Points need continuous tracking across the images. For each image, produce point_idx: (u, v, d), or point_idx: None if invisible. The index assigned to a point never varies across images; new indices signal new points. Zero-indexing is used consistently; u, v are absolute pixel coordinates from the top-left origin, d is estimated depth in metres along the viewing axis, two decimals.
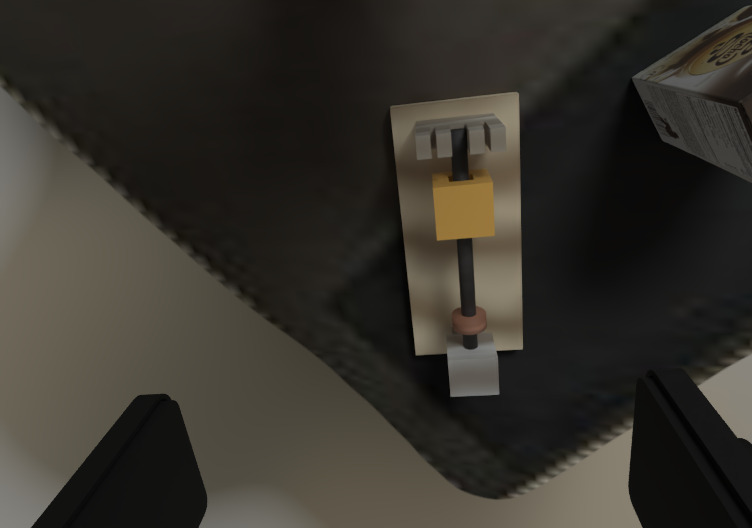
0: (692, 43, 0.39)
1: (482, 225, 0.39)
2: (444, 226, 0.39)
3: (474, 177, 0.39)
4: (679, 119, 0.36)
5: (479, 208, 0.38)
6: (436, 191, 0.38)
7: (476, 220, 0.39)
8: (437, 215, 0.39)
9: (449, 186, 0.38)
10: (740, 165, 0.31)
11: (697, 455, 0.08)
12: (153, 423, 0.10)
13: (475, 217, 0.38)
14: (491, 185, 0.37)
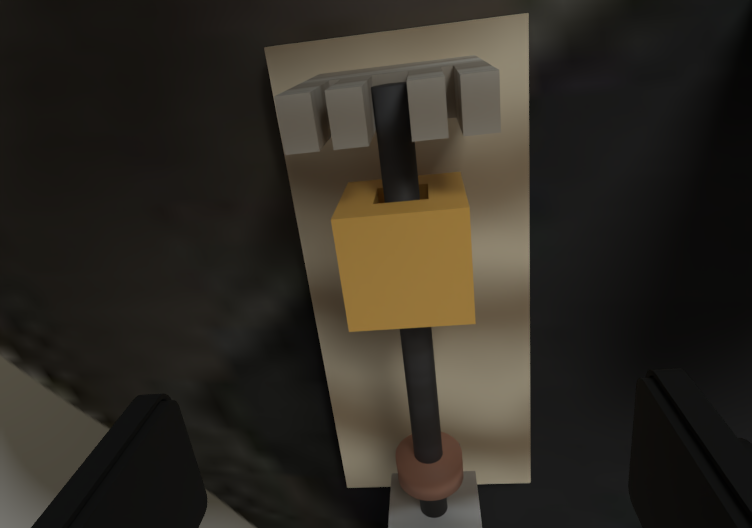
0: None
1: (447, 302, 0.17)
2: (363, 303, 0.17)
3: (430, 193, 0.18)
4: None
5: (440, 266, 0.17)
6: (339, 227, 0.16)
7: (433, 291, 0.17)
8: (346, 279, 0.17)
9: (369, 216, 0.16)
10: None
11: (697, 455, 0.08)
12: (153, 423, 0.10)
13: (431, 285, 0.17)
14: (466, 214, 0.16)
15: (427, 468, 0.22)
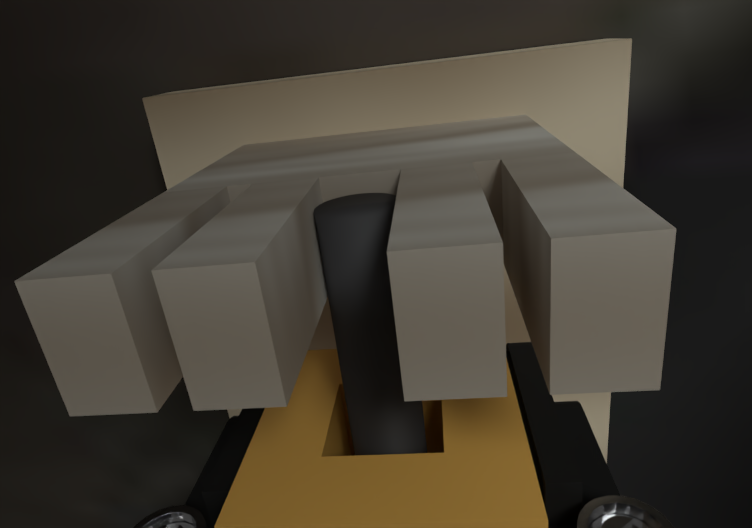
0: None
1: None
2: None
3: (448, 423, 0.08)
4: None
5: None
6: None
7: None
8: None
9: (304, 521, 0.07)
10: None
11: None
12: None
13: None
14: None
15: None
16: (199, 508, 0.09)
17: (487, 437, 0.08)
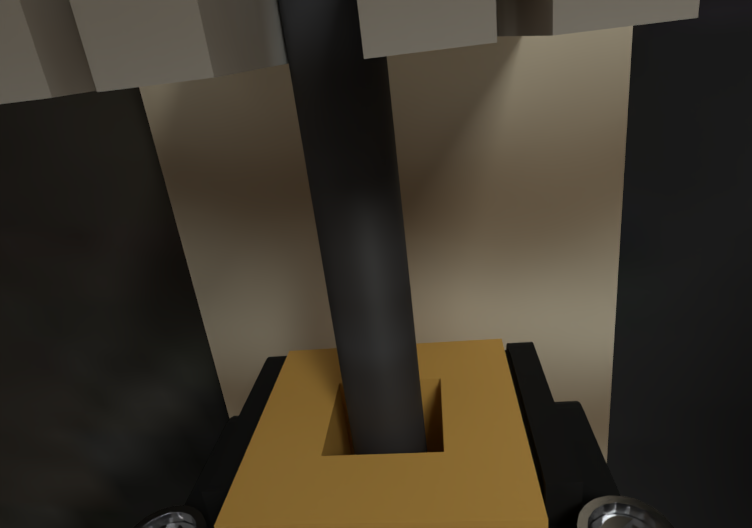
0: None
1: None
2: None
3: (447, 422, 0.08)
4: None
5: None
6: None
7: None
8: None
9: (304, 521, 0.07)
10: None
11: None
12: None
13: None
14: None
15: None
16: (199, 508, 0.09)
17: (487, 437, 0.08)
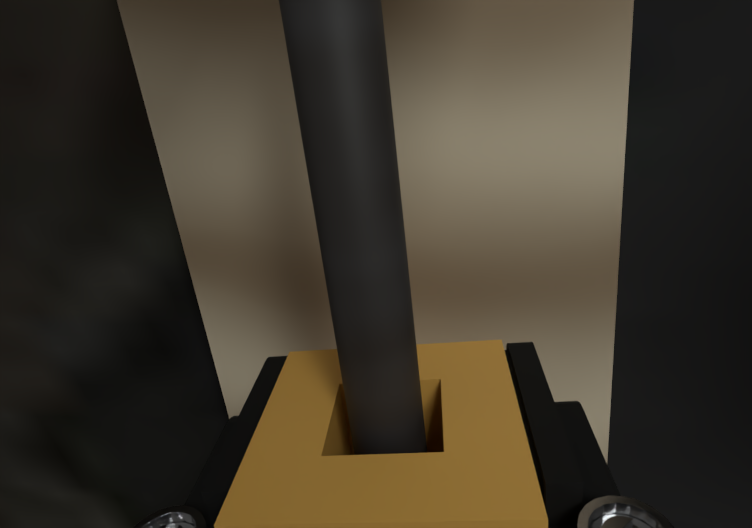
0: None
1: None
2: None
3: (447, 422, 0.08)
4: None
5: None
6: None
7: None
8: None
9: (304, 520, 0.07)
10: None
11: None
12: None
13: None
14: None
15: None
16: (199, 508, 0.09)
17: (487, 437, 0.08)
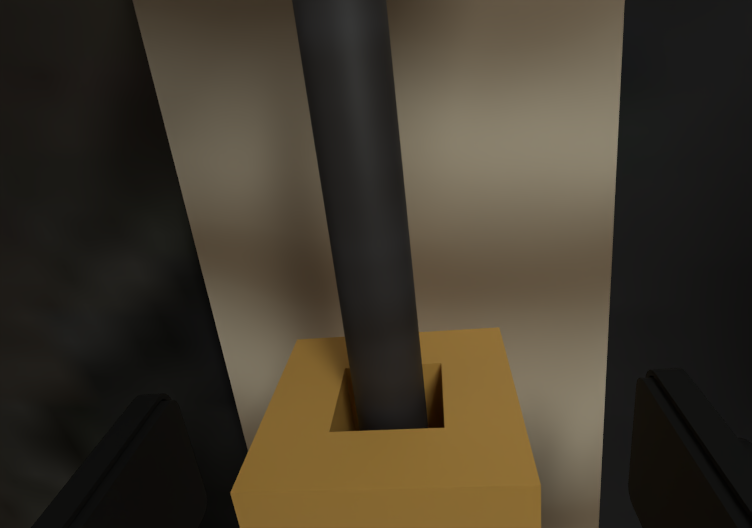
0: None
1: None
2: None
3: (448, 402, 0.09)
4: None
5: None
6: (250, 508, 0.07)
7: None
8: None
9: (314, 488, 0.07)
10: None
11: (697, 455, 0.08)
12: (153, 423, 0.10)
13: None
14: (532, 498, 0.07)
15: None
16: None
17: (485, 414, 0.08)
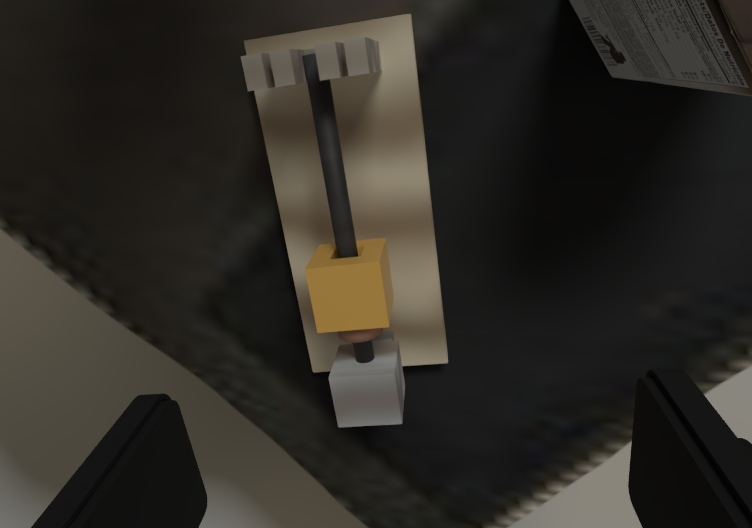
0: None
1: (372, 314, 0.30)
2: (324, 315, 0.30)
3: (363, 252, 0.31)
4: (619, 25, 0.25)
5: (366, 294, 0.30)
6: (309, 273, 0.30)
7: (364, 308, 0.30)
8: (314, 302, 0.30)
9: (325, 267, 0.29)
10: (700, 64, 0.20)
11: (697, 455, 0.08)
12: (153, 423, 0.10)
13: (362, 304, 0.30)
14: (378, 265, 0.29)
15: None
16: None
17: (372, 253, 0.30)
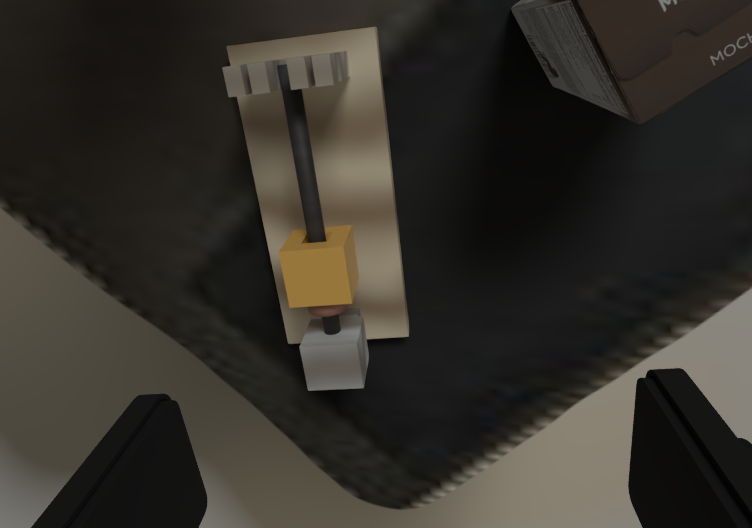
0: None
1: (337, 292, 0.35)
2: (296, 293, 0.35)
3: (330, 238, 0.35)
4: (549, 47, 0.30)
5: (332, 274, 0.34)
6: (282, 255, 0.34)
7: (330, 287, 0.35)
8: (287, 281, 0.35)
9: (296, 250, 0.34)
10: (600, 90, 0.24)
11: (697, 455, 0.08)
12: (153, 423, 0.10)
13: (328, 283, 0.34)
14: (342, 250, 0.33)
15: None
16: None
17: (338, 239, 0.35)
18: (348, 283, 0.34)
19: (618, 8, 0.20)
